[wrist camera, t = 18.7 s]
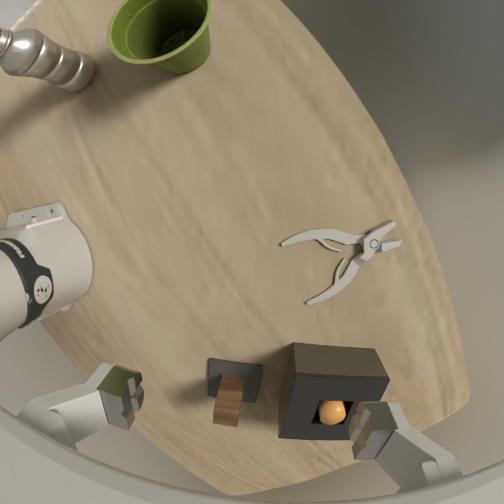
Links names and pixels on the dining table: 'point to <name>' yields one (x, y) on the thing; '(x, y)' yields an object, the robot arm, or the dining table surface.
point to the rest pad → (234, 368)
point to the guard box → (327, 388)
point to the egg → (331, 412)
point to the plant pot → (161, 33)
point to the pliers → (366, 241)
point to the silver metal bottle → (44, 59)
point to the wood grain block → (228, 400)
